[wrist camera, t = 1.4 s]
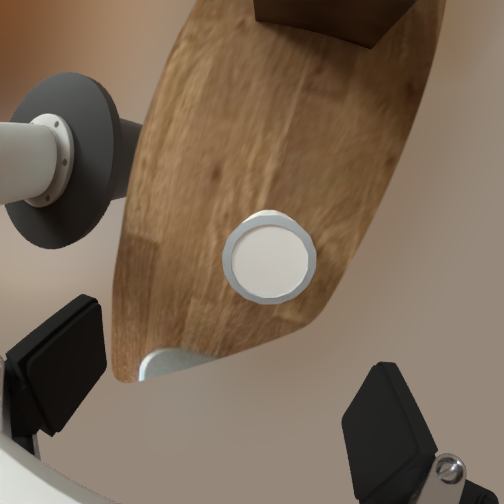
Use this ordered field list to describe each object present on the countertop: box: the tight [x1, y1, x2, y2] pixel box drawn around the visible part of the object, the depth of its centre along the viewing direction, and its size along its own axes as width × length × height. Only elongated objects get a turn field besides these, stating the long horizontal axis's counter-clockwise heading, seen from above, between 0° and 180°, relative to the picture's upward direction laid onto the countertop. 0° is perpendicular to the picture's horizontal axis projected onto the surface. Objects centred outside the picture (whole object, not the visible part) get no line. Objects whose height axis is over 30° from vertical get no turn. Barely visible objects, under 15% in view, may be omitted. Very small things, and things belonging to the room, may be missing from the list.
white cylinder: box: [222, 210, 316, 304], centre depth 23 cm, size 7×7×7 cm
